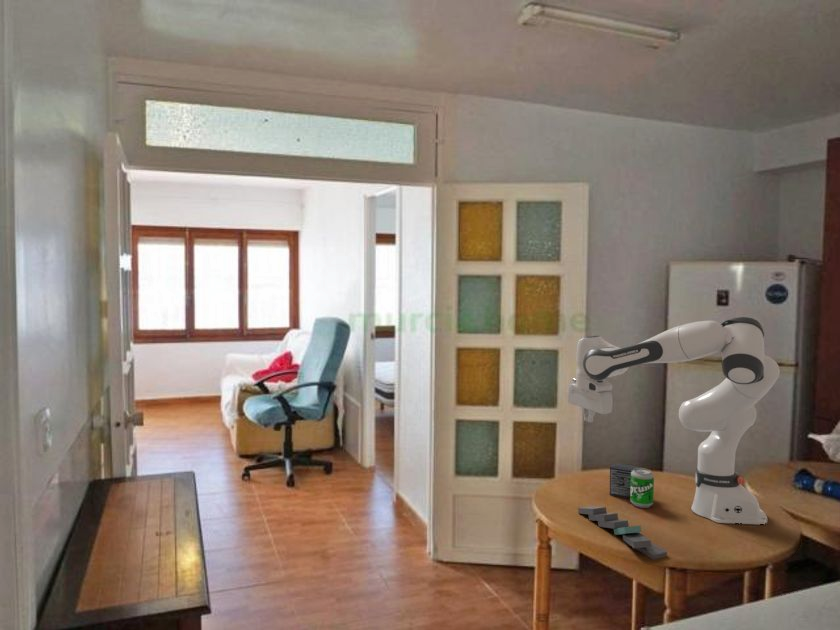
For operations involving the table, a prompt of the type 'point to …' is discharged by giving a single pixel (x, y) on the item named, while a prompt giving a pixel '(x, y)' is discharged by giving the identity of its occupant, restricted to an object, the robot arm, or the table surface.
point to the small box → (621, 480)
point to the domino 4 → (627, 530)
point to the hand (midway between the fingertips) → (588, 421)
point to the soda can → (642, 487)
